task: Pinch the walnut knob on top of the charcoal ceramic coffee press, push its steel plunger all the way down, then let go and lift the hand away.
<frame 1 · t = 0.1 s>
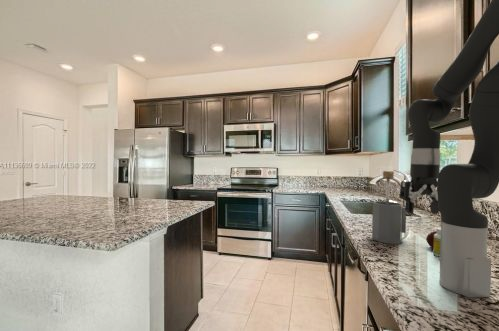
hand: (422, 213, 77), 17 cm above the countertop, tool pointing down, fingers open, 8 cm apart
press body: (386, 239, 104), on the countertop
potato: (438, 249, 94), on the countertop
supplement bottle: (442, 256, 87), on the countertop
plunger: (387, 192, 104), point 21 cm above the countertop, slide at 0.0 cm
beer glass: (390, 232, 117), on the countertop
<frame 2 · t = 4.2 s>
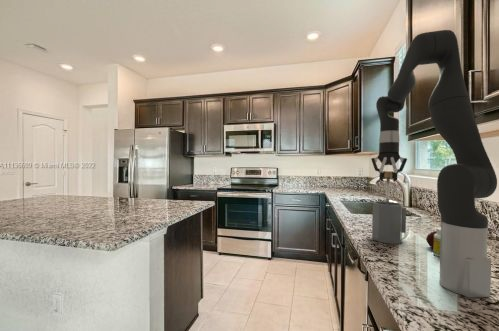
hand: (388, 181, 104), 26 cm above the countertop, tool pointing down, fingers closed on plunger, 4 cm apart
plunger: (387, 192, 104), point 21 cm above the countertop, slide at 0.0 cm, touching gripper
everything else where it was.
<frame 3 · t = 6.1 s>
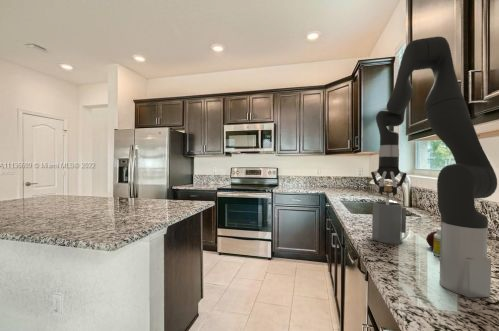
hand: (387, 195, 104), 20 cm above the countertop, tool pointing down, fingers closed on plunger, 4 cm apart
plunger: (387, 206, 104), point 15 cm above the countertop, slide at 6.2 cm, touching gripper
everything else where it was.
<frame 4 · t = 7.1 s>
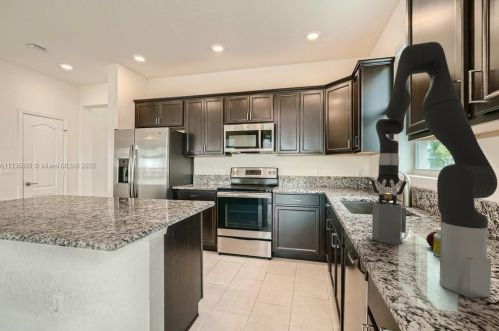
hand: (387, 203, 104), 16 cm above the countertop, tool pointing down, fingers closed on plunger, 4 cm apart
plunger: (387, 214, 104), point 11 cm above the countertop, slide at 9.7 cm, touching gripper
everything else where it was.
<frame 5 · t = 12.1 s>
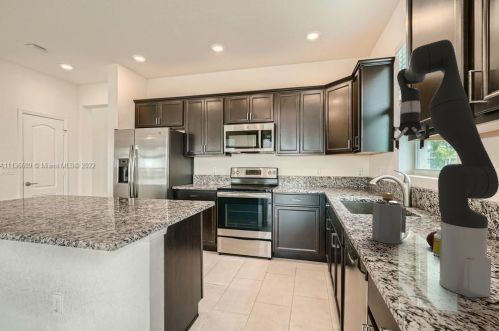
hand: (409, 149, 107), 40 cm above the countertop, tool pointing down, fingers open, 8 cm apart
plunger: (387, 214, 104), point 11 cm above the countertop, slide at 9.6 cm
everything else where it was.
at the end: plunger slide at 9.6 cm; the gripper is holding nothing; supplement bottle moved 0.2 cm from its start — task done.
